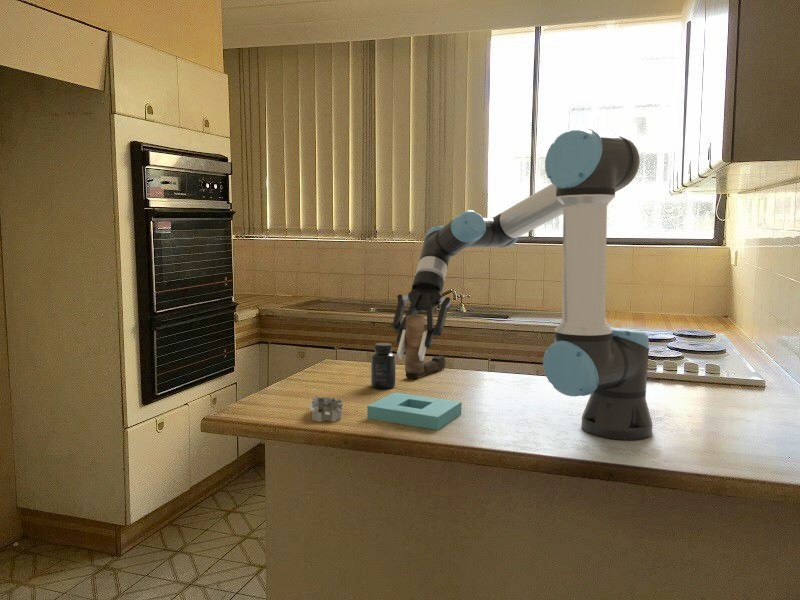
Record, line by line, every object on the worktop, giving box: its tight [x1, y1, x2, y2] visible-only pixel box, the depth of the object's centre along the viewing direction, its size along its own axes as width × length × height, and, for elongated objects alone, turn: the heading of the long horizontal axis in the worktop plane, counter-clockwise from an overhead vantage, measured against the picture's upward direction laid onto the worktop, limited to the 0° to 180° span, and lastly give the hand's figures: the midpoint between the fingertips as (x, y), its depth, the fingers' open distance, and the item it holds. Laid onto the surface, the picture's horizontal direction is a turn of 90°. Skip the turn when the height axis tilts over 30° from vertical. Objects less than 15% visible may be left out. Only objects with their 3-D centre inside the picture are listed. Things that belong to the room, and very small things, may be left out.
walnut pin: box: [404, 314, 426, 373], centre depth 156 cm, size 4×4×13 cm
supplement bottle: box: [370, 342, 397, 390], centre depth 185 cm, size 7×7×12 cm
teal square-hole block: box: [366, 391, 463, 431], centre depth 158 cm, size 18×14×3 cm
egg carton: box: [309, 395, 344, 422], centre depth 158 cm, size 11×8×4 cm
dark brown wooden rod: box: [405, 355, 446, 380], centre depth 201 cm, size 19×4×5 cm, turn 142°
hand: (410, 356), depth 153 cm, fingers closed on walnut pin, 4 cm apart
